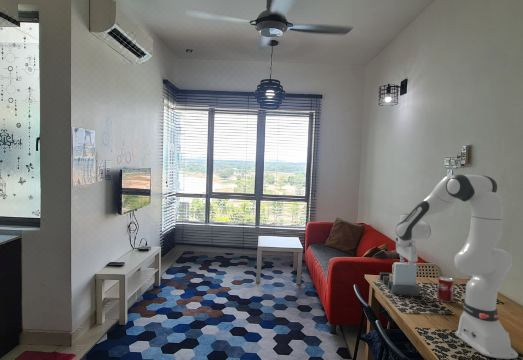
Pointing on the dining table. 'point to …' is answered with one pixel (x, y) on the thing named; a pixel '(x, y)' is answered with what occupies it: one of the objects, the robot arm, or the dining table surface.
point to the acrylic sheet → (404, 274)
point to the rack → (398, 286)
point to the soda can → (445, 289)
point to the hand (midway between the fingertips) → (405, 264)
